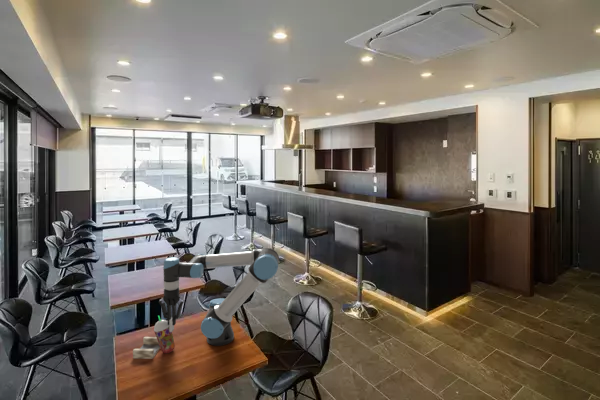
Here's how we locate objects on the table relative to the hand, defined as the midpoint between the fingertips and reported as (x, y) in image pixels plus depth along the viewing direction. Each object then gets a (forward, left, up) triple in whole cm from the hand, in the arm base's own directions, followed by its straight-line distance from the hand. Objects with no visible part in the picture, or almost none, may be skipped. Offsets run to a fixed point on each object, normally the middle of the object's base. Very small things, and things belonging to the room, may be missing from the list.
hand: (171, 330), depth 176 cm
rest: (+13, 0, -12) cm, 17 cm away
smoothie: (+2, 0, -12) cm, 12 cm away
